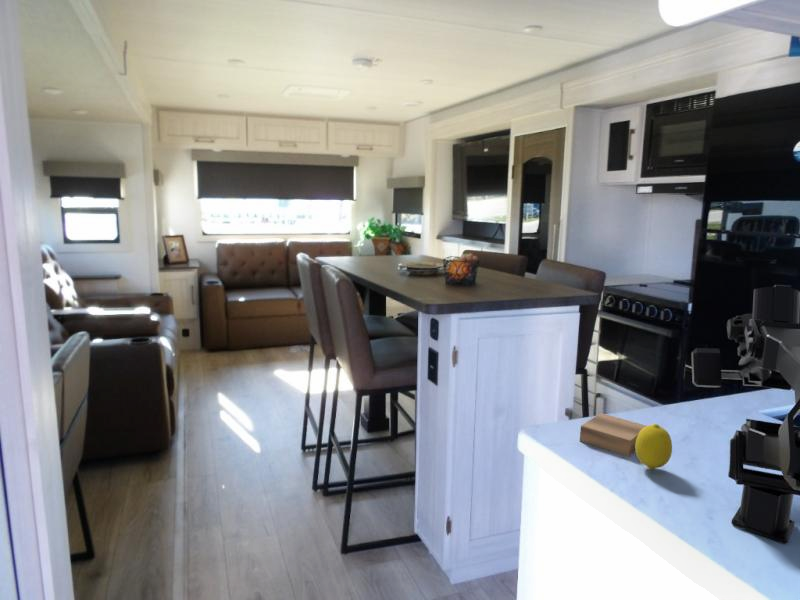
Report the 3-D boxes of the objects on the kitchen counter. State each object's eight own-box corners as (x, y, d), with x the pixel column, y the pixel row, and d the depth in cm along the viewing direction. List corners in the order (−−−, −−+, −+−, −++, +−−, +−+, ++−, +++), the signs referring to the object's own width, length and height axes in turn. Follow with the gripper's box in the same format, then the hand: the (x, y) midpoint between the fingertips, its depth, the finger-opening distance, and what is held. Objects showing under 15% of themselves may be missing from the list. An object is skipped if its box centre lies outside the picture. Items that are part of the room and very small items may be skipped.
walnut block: (628, 456, 97) (630, 440, 97) (579, 440, 103) (580, 425, 103) (646, 441, 104) (648, 426, 103) (599, 427, 110) (601, 413, 109)
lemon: (648, 479, 89) (653, 432, 88) (626, 463, 95) (630, 419, 93) (677, 475, 91) (682, 429, 89) (653, 460, 96) (658, 416, 95)
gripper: (839, 309, 81) (807, 332, 95) (696, 309, 88) (685, 330, 102) (847, 385, 79) (813, 397, 93) (698, 379, 85) (687, 391, 99)
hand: (747, 376), depth 97 cm, fingers open, 9 cm apart
